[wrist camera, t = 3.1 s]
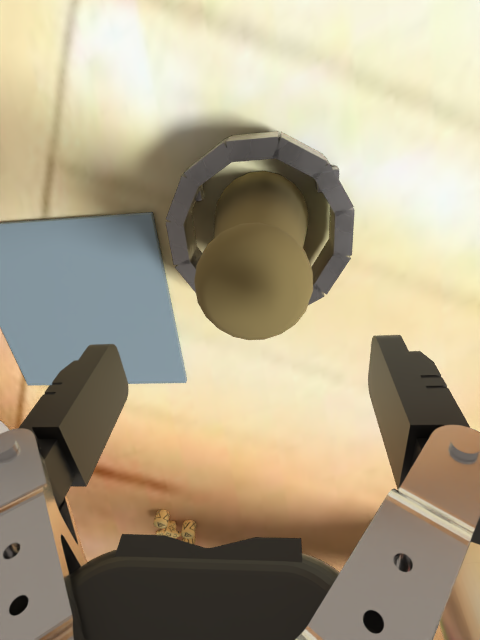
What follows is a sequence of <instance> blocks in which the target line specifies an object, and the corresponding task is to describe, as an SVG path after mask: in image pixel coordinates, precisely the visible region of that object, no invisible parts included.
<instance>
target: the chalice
mask: <svg viewBox="0 0 480 640" xmlns="http://www.w3.org/2000/svg"><path fill="white" fill-rule="evenodd" d="M6 431H9V429H8V428H7V427H6V426H5V424H4V423H2V422H1V421H0V434H1V433H3V432H6Z"/></svg>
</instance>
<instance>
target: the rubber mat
mask: <svg viewBox="0 0 480 640" xmlns="http://www.w3.org/2000/svg"><path fill="white" fill-rule="evenodd" d="M0 327H1V329H2V332H3V334H4V336H5V338H6V340H7V342H8V344H9V346H10V348H11V351H12V353H13V355H14V357H15V359H16V361H17V363H18V365H19V367H20V370H21V372H22V374H23V376H24V378H25V380H26V382H27V384H28V385H52V382H53V380H54V379H55V378H56V376H57V375H58V374H59V372H60V371H61V370H62V369H64V368H65V367H66V366H68V365H69V364H70V363H71V362H73V361H74V360H79V358H80V357H81V355H82V354H83V352H84V351H85V350H86V348H87V347H88V346H89V345H94V344H114V345H115V346H116V347H117V349H118V352H119V355H120V358H121V361H122V365H123V368H124V371H125V374H126V378H127V381H128V384H140V383H186V381H187V377H186V372H185V368H184V363H183V358H182V353H181V348H180V343H179V338H178V333H177V328H176V323H175V319H174V314H173V309H172V304H171V299H170V294H169V289H168V284H167V279H166V275H165V270H164V265H163V260H162V255H161V250H160V245H159V240H158V235H157V231H156V226H155V221H154V216H153V212H148V213H134V214H119V215H105V216H91V217H76V218H62V219H47V220H33V221H19V222H4V223H0Z"/></svg>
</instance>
